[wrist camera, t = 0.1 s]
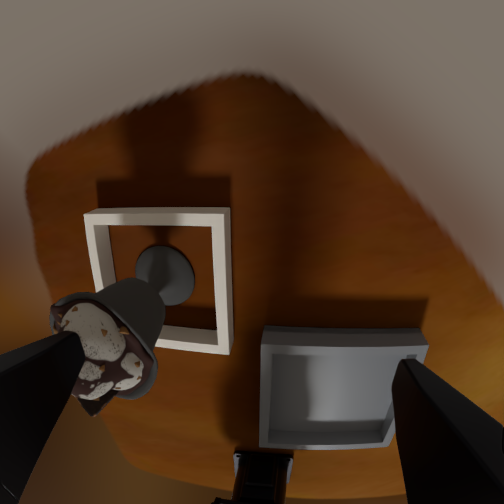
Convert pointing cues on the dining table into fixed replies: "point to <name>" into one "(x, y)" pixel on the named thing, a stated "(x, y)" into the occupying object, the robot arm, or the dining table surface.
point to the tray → (331, 385)
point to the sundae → (123, 327)
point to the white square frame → (221, 243)
